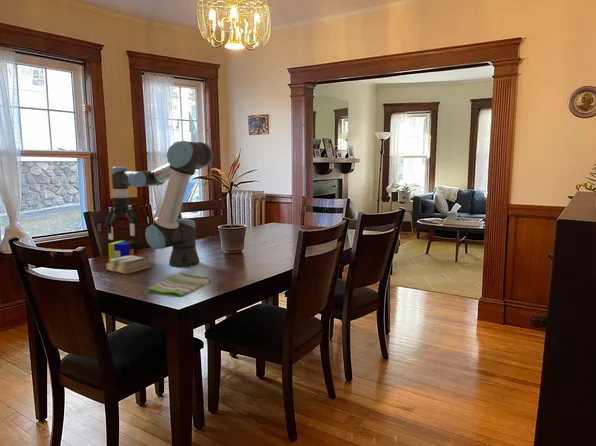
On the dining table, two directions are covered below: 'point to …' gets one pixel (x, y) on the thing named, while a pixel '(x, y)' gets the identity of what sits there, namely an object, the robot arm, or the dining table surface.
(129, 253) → the puzzle toy
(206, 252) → the dining table surface
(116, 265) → the plinth
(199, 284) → the dish towel
